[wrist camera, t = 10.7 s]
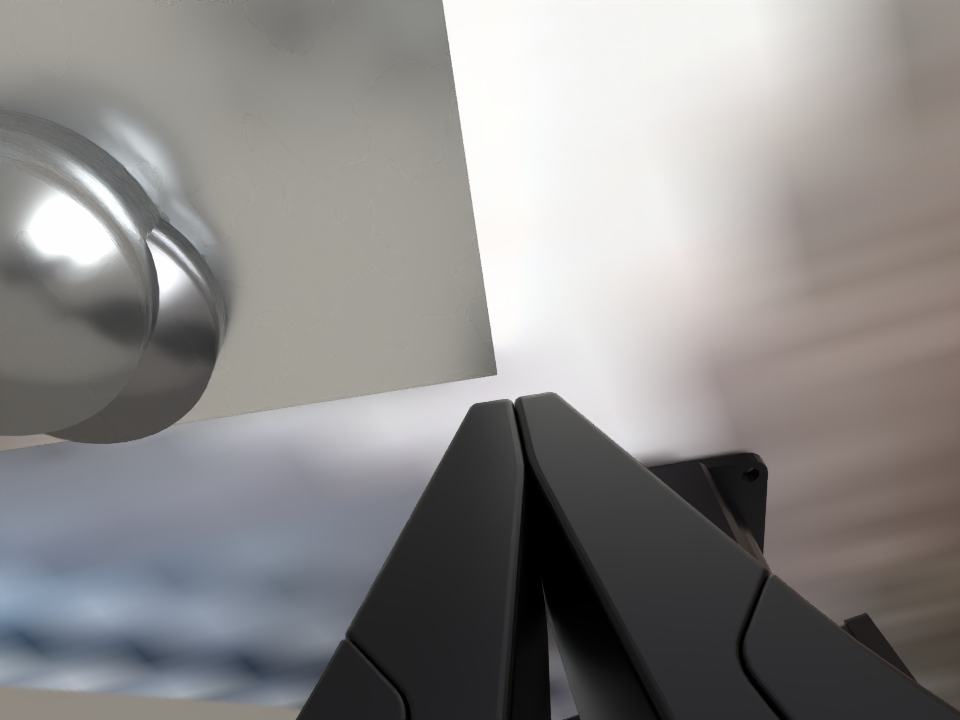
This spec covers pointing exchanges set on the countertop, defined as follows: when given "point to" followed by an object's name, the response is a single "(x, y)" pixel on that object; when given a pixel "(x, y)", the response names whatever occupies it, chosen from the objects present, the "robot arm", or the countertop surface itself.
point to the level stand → (282, 177)
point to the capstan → (94, 295)
